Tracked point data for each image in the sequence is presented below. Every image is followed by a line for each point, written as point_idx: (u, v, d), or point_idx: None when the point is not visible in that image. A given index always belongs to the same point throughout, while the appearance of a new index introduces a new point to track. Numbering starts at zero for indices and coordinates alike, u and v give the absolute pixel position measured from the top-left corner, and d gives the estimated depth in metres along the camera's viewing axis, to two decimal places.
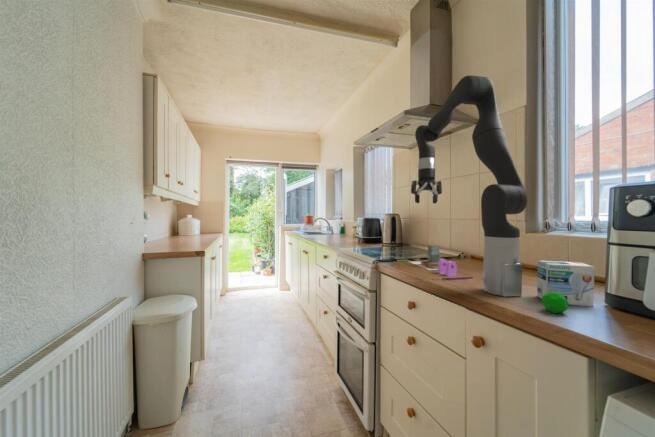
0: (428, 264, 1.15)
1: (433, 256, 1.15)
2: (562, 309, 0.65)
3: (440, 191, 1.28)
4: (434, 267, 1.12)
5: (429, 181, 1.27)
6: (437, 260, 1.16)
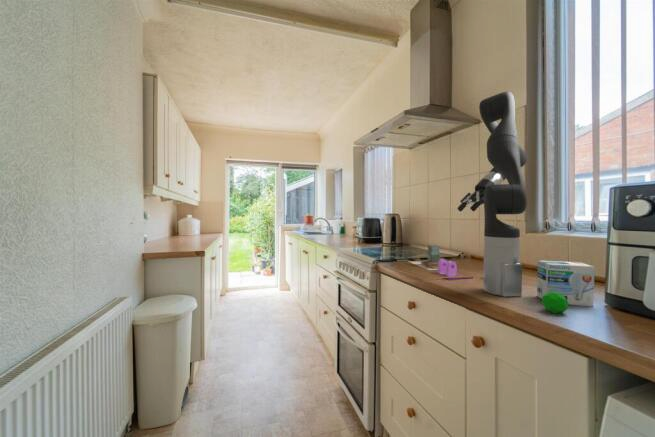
0: (428, 264, 1.15)
1: (433, 256, 1.15)
2: (562, 309, 0.65)
3: (482, 198, 1.13)
4: (434, 267, 1.12)
5: (479, 192, 1.19)
6: (437, 260, 1.16)
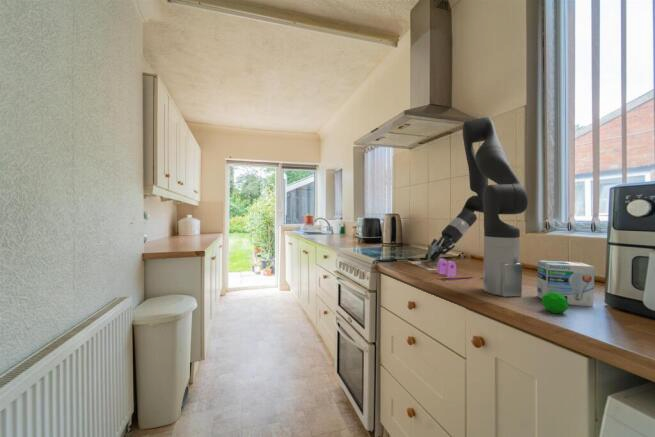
0: (428, 264, 1.15)
1: None
2: (562, 309, 0.65)
3: (441, 248, 1.13)
4: (434, 267, 1.12)
5: (445, 238, 1.17)
6: (437, 260, 1.16)
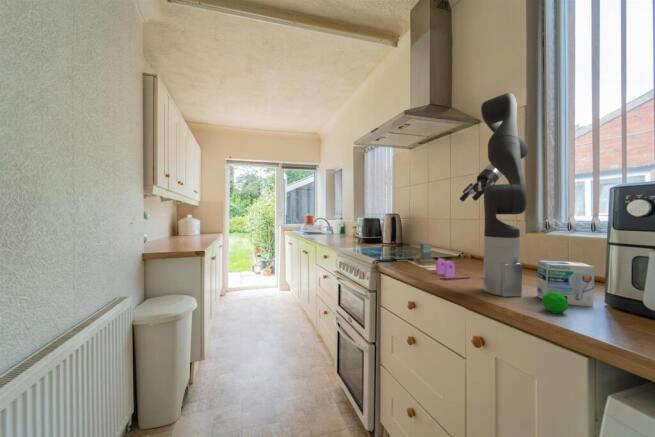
0: (420, 261, 1.22)
1: (425, 254, 1.22)
2: (562, 309, 0.65)
3: (484, 187, 1.15)
4: (425, 264, 1.19)
5: (481, 182, 1.21)
6: (428, 257, 1.22)
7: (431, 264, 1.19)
